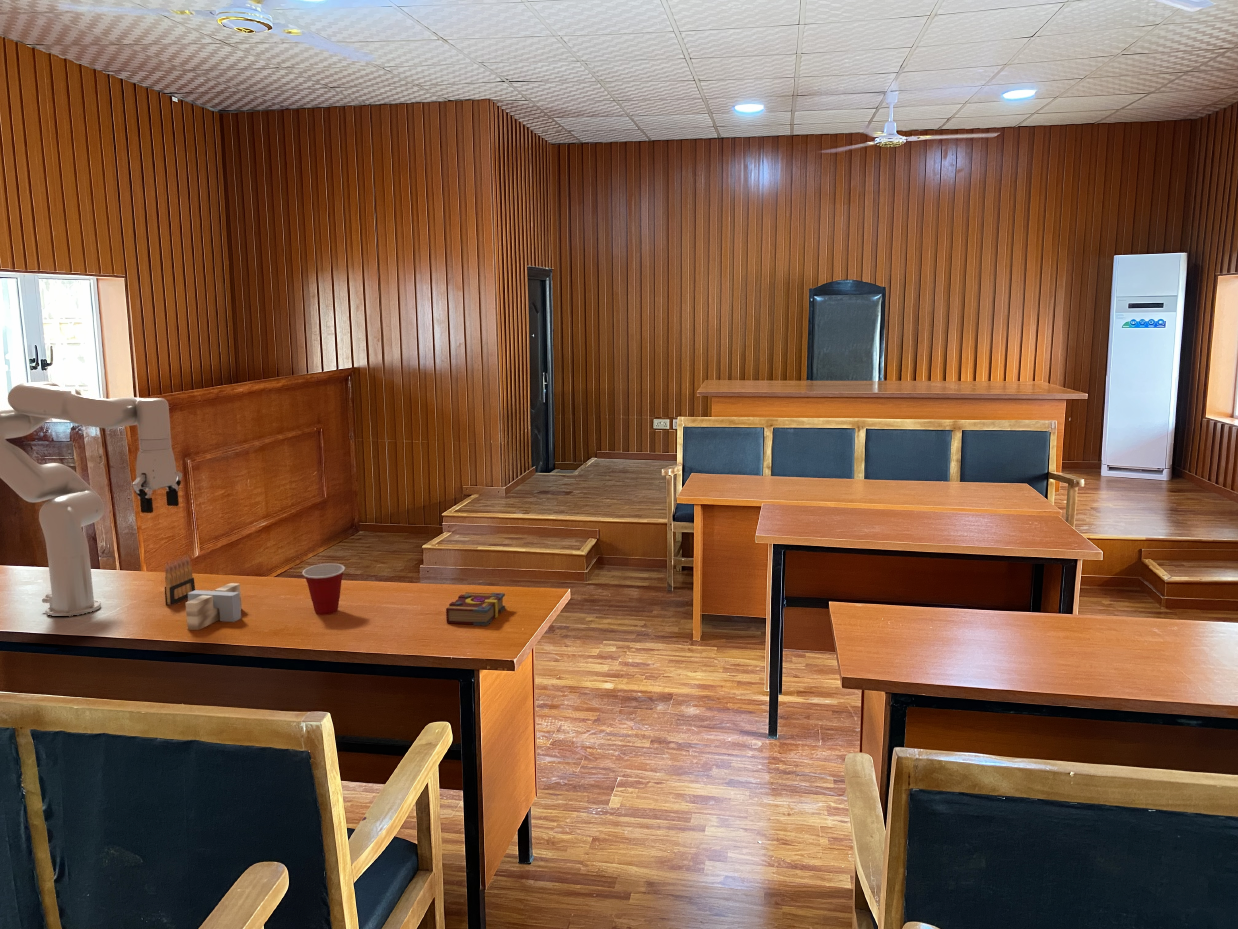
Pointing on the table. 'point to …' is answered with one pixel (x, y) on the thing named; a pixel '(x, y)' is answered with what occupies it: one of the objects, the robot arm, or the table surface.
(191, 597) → the grey block
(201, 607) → the birch block
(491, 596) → the decorative book
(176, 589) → the ammunition clip
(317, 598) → the plastic cup
